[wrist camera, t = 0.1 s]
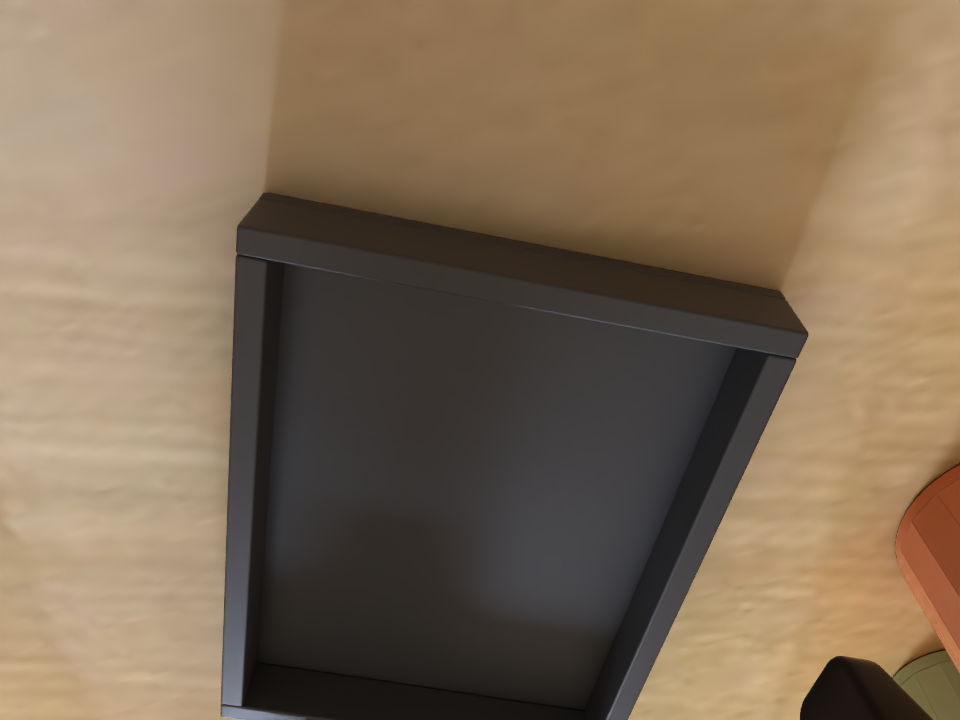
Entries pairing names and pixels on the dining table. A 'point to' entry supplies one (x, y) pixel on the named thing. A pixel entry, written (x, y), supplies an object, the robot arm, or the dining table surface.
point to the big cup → (935, 557)
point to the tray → (472, 466)
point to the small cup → (933, 685)
